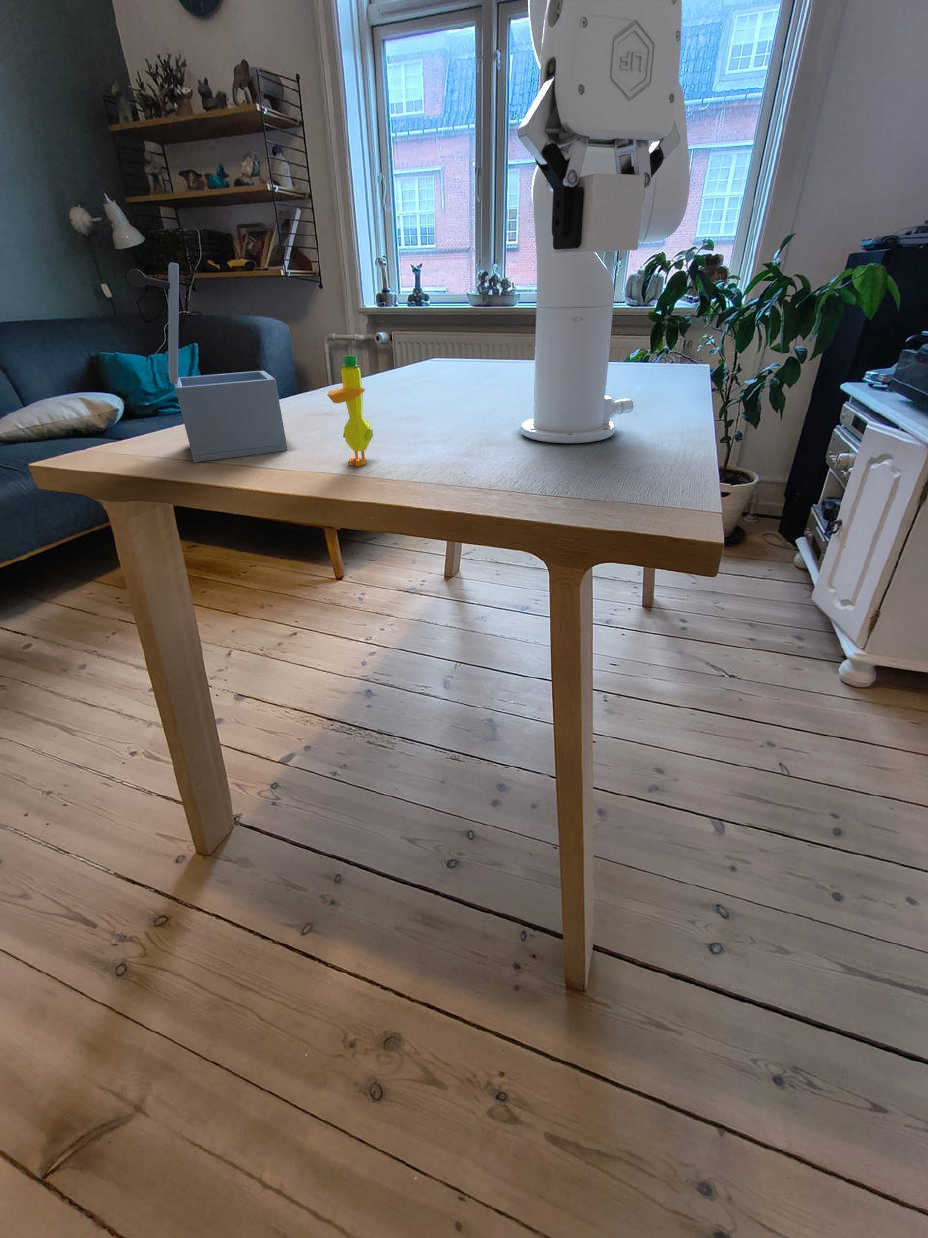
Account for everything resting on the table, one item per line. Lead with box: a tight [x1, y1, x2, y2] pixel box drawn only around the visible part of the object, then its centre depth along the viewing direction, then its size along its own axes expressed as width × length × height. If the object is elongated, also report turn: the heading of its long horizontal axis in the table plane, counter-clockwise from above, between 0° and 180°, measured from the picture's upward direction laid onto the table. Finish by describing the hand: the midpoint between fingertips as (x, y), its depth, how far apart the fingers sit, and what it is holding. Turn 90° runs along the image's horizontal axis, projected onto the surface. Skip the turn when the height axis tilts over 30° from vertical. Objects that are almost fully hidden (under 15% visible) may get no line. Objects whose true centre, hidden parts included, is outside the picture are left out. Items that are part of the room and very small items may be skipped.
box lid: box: [126, 262, 180, 385], centre depth 70 cm, size 12×10×5 cm
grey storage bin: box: [173, 370, 288, 463], centre depth 78 cm, size 12×10×9 cm
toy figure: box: [326, 355, 374, 467], centre depth 68 cm, size 7×4×12 cm, turn 153°
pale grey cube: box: [554, 173, 645, 253], centre depth 49 cm, size 5×5×5 cm
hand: (594, 245), depth 50 cm, fingers closed on pale grey cube, 5 cm apart
